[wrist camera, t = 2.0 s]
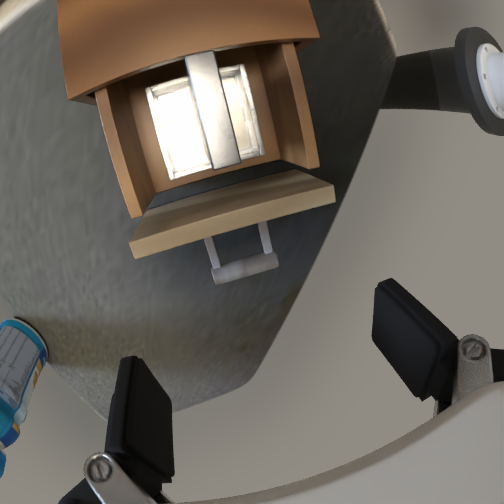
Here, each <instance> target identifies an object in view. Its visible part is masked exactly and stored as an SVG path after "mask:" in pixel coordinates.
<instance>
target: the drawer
mask: <svg viewBox="0 0 504 504" xmlns="http://www.w3.org/2000/svg"><path fill="white" fill-rule="evenodd" d="M215 55H216V59H217V63H218V67H219V68H222V67H227V66H232V65H239V64H244V65H245V69H246V73H247V77H248V81H249V85H250V89H251V93H252V98H253V102H254V106H255V110H256V114H257V119H258V123H259V127H260V132H261V136H262V141H263V145H264V150H265V155H262V156H258V157H253V158H249V159H245V160H241V161H242V163H241V164H239V165H235V166H231V167H227V168H223V169H220V170H216V171H213V169H212V168H211V169H207V170H204V171H200V172H197V173H193V174H190V175H187V176H183V177H180V178H177V179H174V180H171V181H170V180H169V176H168V173H167V170H166V166H165V163H164V159H163V156H162V152H161V149H160V145H159V142H158V138H157V134H156V131H155V127H154V123H153V119H152V115H151V111H150V107H149V103H148V99H147V95H146V91H145V88H148V87H151V86H154V85H157V84H160V83H164V82H167V81H170V80H174V79H177V78H181V77H184V76H187V73H186V66H185V59H183V60H179V61H175V62H172V63H168V64H165V65H162V66H159V67H155V68H152V69H149V70H146V71H143V72H141V73H138V74H135V75H132V76H129V77H127V78H124V79H122V80H119V81H117V82H114V83H112V84H109V85H107V86H105V87H102V88H100V89H98V90H96V91H94V92H95V96H96V101H97V105H98V110H99V114H100V118H101V122H102V126H103V130H104V134H105V137H106V141H107V145H108V148H109V152H110V155H111V158H112V162H113V165H114V168H115V172H116V175H117V178H118V181H119V184H120V187H121V190H122V193H123V196H124V199H125V202H126V205H127V207H128V210H129V213H130V216H131V218H132V219H133V218H136V217H139V216H142V215H143V214H144V212H145V210H146V209H147V207H148V206H149V204H150V202H151V201H152V199H153V197H154V196H155V194H157V193H160V192H163V191H166V190H169V189H172V188H175V187H178V186H182V185H185V184H188V183H192V182H195V181H198V180H202V179H205V178H209V177H212V176H216V175H219V174H223V173H227V172H231V171H234V170H238V169H242V168H246V167H250V166H254V165H258V164H262V163H267V162H271V161H275V160H280V159H282V160H285V161H287V162H290V163H293V164H296V165H299V166H302V167H304V168H307V169H312V168H317V167H320V164H319V158H318V152H317V146H316V141H315V135H314V130H313V125H312V120H311V115H310V110H309V105H308V101H307V96H306V92H305V87H304V83H303V79H302V74H301V70H300V66H299V62H298V58H297V55H296V51H295V47H294V43H293V42H282V43H271V44H262V45H254V46H247V47H240V48H234V49H228V50H223V51H217V52H215ZM334 202H336V199H335V191H334V185H332V184H330V183H328V182H325V181H323V180H321V179H318V178H316V177H314V176H311V175H309V174H306V173H304V172H302V171H299V170H297V169H294V170H290V171H285V172H281V173H277V174H273V175H268V176H264V177H260V178H256V179H252V180H249V181H245V182H241V183H237V184H233V185H230V186H226V187H222V188H219V189H215V190H212V191H208V192H205V193H201V194H198V195H195V196H191V197H188V198H185V199H181V200H178V201H175V202H172V203H169V204H166V205H162V206H159V207H156V208H153V209H150V210H147V211H146V213H145V215H144V216H143V218H142V220H141V222H140V223H139V225H138V227H137V229H136V230H135V232H134V234H133V236H132V238H131V240H130V242H129V245H130V248H131V250H132V252H133V255H134V257H135V259H138V258H141V257H145V256H148V255H151V254H154V253H157V252H161V251H164V250H167V249H171V248H174V247H177V246H180V245H184V244H187V243H190V242H194V241H197V240H201V239H204V241H205V244H206V248H207V251H208V254H209V257H210V260H211V263H212V266H213V267H212V268H211V271H212V275H213V279H214V282H215V284H216V285H219V284H223V283H226V282H230V281H233V280H236V279H240V278H243V277H247V276H250V275H253V274H257V273H260V272H263V271H267V270H270V269H273V268H277V267H279V261H278V257H277V254H276V252H275V251H274V250H272V245H271V240H270V236H269V231H268V226H267V222H266V221H267V220H271V219H274V218H278V217H281V216H285V215H289V214H293V213H296V212H300V211H304V210H307V209H311V208H315V207H319V206H323V205H327V204H330V203H334ZM256 223H257V224H258V228H259V232H260V237H261V241H262V245H263V250H264V252H263V253H260V254H256V255H253V256H249V257H246V258H242V259H239V260H236V261H232V262H229V263H225V264H222V265H221V263H220V260H219V257H218V254H217V251H216V247H215V244H214V241H213V237H212V236H214V235H218V234H221V233H224V232H228V231H231V230H235V229H238V228H242V227H245V226H249V225H253V224H256Z"/></svg>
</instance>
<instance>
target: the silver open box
mask: <svg viewBox="0 0 504 504" xmlns="http://www.w3.org/2000/svg"><path fill="white" fill-rule="evenodd" d="M184 59H185V66H186V73H187V76H184V77H181V78H177V79H174V80H170V81H167V82H164V83H160V84H157V85H154V86H151V87H148V88H145V91H146V95H147V99H148V103H149V107H150V111H151V115H152V119H153V123H154V127H155V131H156V134H157V138H158V142H159V145H160V149H161V152H162V156H163V159H164V163H165V166H166V170H167V173H168V176H169V180H170V181H171V180H174V179H177V178H180V177H183V176H187V175H190V174H193V173H197V172H200V171H204V170H207V169H211V168H212V169H213V171H216V170H220V169H223V168H227V167H231V166H235V165H239V164H241V163H242V161H241V160H245V159H249V158H253V157H258V156H262V155H265V150H264V145H263V141H262V136H261V132H260V127H259V123H258V119H257V114H256V110H255V106H254V102H253V98H252V93H251V89H250V85H249V81H248V77H247V73H246V69H245V65H244V64H239V65H232V66H227V67H222V68H219V67H218V63H217V59H216V55H215V51H214V50H209V51H204V52H200V53H196V54H192V55H188V56H185V58H184Z"/></svg>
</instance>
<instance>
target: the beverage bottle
mask: <svg viewBox="0 0 504 504" xmlns="http://www.w3.org/2000/svg"><path fill="white" fill-rule="evenodd" d="M47 357H48V353H47V348H46V346H45V343H44V341H43V340H42V338H41V337H40V336H39V334H38V333H37V332H36V331H35V330H34V329H33V328H32V327H31V326H29V325H28V324H27V323H25V322H23V321H21V320H19V319H15V318H8V319H5V320H4V321H3V322H2V323H1V325H0V478H1V477H2V475H3V472H4V467H5V462H6V454H5V452H4V451H3V449H4V448H6V447H8V446H9V445H11V444H13V443H14V442H15V441H16V440H17V438H18V437H19V434H20V429H19V425H20V424H21V423H23V422H24V421H25V418H26V416H27V407H28V404H29V401H30V398H31V395H32V392H33V389H34V387H35V384H36V382H37V379H38V377H39V375H40V372H41V370H42V368H43V366H44V365H45V363H46V361H47Z"/></svg>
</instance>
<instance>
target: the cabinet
mask: <svg viewBox="0 0 504 504" xmlns="http://www.w3.org/2000/svg"><path fill="white" fill-rule="evenodd" d="M57 12H58V29H59V41H60V50H61V58H62V66H63V72H64V79H65V84H66V90H67V95H68V100H71V101H77V102H82V103H86V104H91V105H95V106H98V105H97V101H96V96H95V92H94V91H96V90H98V89H100V88H102V87H105V86H107V85H109V84H112V83H114V82H117V81H119V80H122V79H124V78H127V77H129V76H132V75H135V74H138V73H141V72H143V71H146V70H149V69H152V68H155V67H159V66H162V65H165V64H168V63H172V62H175V61H179V60H183V59H184V58H185V56H188V55H192V54H196V53H200V52H204V51H209V50H214V51H215V52H217V51H223V50H228V49H234V48H240V47H247V46H254V45H262V44H271V43H282V42H293V43H294V47H295V51H296V53H297V52H299V51H300V50H302V49H303V48H305V47H306V46H308V45H309V44H311V43H312V42H314V41H315V40H317V39H318V38H320V36H319V32H318V29H317V26H316V22H315V19H314V16H313V13H312V10H311V7H310V4H309V1H308V0H57Z"/></svg>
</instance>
